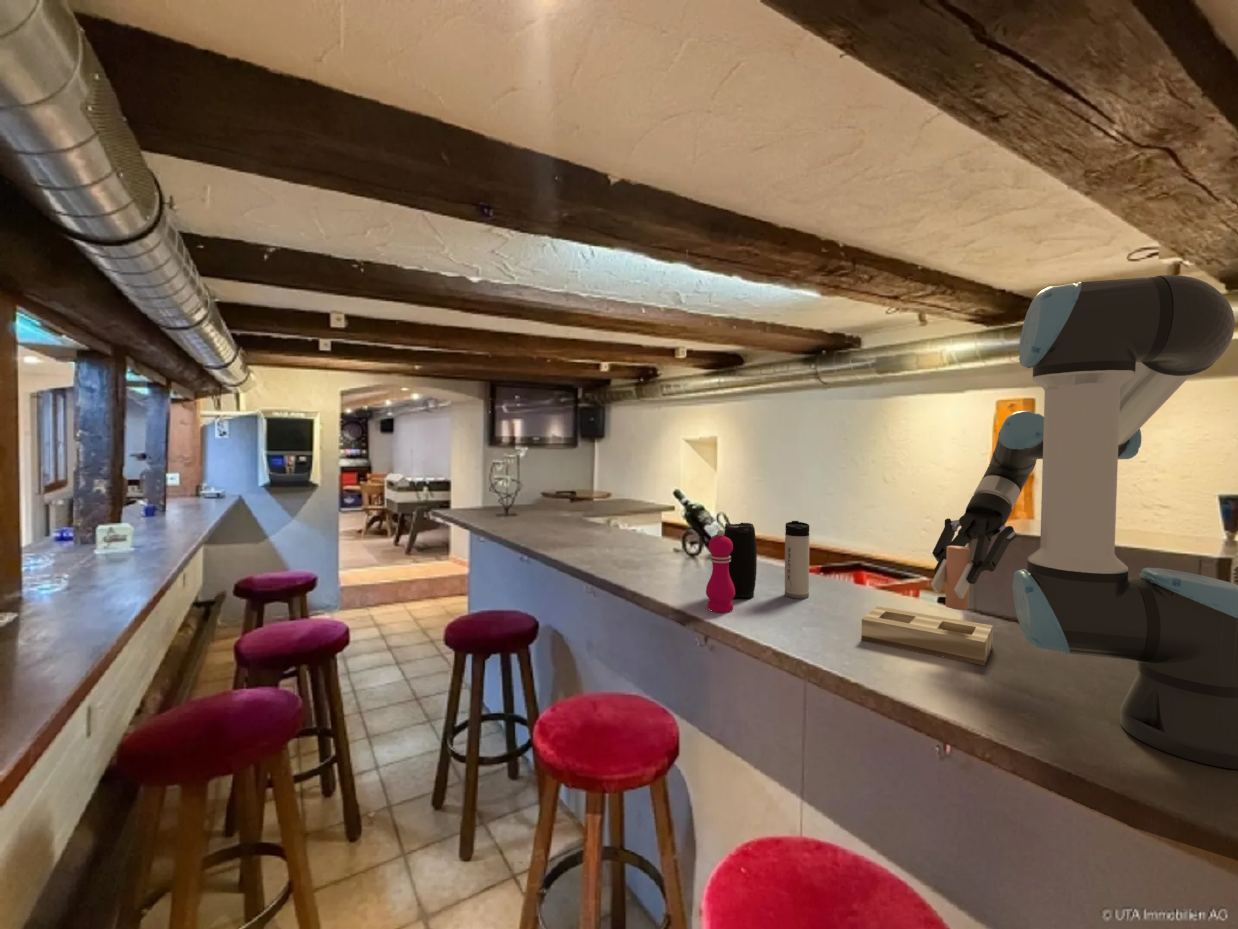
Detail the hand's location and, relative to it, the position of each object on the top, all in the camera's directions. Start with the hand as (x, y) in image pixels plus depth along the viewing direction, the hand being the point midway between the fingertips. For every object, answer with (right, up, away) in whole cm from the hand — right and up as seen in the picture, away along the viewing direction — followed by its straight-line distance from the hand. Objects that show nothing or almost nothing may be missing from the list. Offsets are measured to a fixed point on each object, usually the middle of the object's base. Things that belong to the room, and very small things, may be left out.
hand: (946, 591), depth 112 cm
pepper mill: (-39, -11, +30) cm, 51 cm away
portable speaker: (-32, -11, +42) cm, 54 cm away
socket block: (-1, -12, +6) cm, 13 cm away
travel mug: (-16, -11, +42) cm, 47 cm away
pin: (+3, -4, +2) cm, 5 cm away
